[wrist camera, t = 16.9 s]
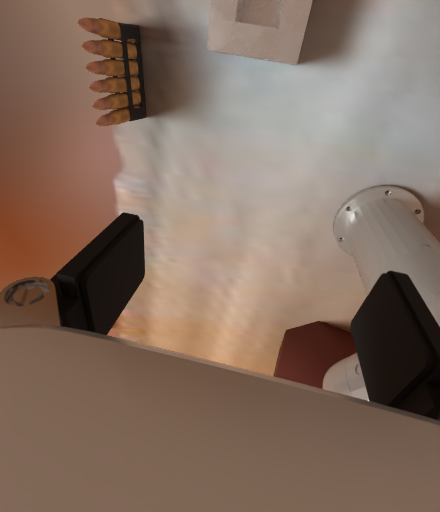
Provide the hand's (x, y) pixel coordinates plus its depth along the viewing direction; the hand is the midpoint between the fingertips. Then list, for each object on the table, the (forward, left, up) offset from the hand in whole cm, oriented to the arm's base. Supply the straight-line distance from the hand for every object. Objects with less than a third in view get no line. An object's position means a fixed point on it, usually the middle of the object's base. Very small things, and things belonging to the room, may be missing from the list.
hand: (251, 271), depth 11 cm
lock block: (+8, -10, -34) cm, 37 cm away
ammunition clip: (+20, +4, -35) cm, 40 cm away
